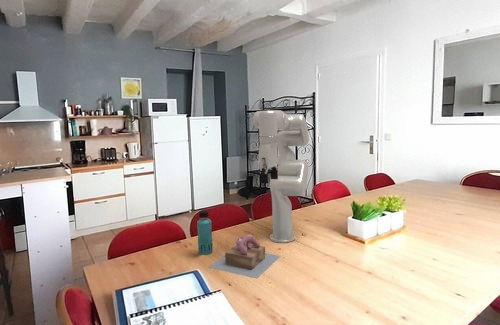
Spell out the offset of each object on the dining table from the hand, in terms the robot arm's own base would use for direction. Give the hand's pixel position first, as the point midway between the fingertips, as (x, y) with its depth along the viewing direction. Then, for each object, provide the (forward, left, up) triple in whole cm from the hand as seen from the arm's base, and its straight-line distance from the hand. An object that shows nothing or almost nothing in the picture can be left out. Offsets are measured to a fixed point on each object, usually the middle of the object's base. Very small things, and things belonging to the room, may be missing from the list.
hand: (269, 181), depth 137 cm
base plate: (+12, -6, -33) cm, 36 cm away
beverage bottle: (+11, -27, -34) cm, 44 cm away
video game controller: (+12, -5, -27) cm, 30 cm away
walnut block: (+12, -6, -32) cm, 34 cm away
